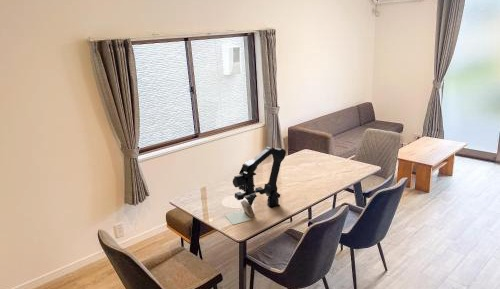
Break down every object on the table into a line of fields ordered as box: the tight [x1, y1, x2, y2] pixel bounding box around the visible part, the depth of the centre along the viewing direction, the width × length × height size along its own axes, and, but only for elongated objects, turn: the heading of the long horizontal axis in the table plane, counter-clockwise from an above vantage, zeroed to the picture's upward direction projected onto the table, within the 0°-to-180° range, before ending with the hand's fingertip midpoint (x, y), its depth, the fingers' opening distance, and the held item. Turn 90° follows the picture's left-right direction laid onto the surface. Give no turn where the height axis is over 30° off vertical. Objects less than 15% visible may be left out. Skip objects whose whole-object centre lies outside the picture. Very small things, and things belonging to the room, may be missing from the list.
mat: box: [224, 210, 252, 226], centre depth 227 cm, size 12×14×1 cm
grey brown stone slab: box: [240, 199, 256, 219], centre depth 229 cm, size 3×9×8 cm, turn 25°
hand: (250, 205), depth 229 cm, fingers closed
